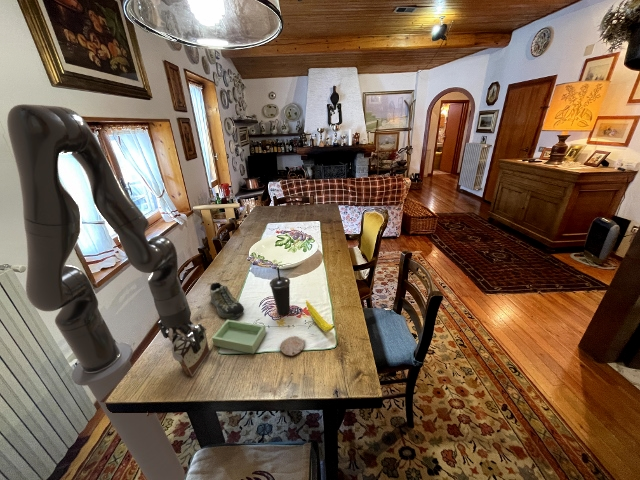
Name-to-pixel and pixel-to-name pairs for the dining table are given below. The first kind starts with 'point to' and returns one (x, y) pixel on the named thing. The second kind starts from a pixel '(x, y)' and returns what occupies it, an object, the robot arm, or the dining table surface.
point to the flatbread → (292, 345)
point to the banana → (318, 318)
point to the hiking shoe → (225, 302)
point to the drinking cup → (281, 293)
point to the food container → (189, 353)
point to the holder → (239, 336)
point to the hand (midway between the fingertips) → (188, 349)
